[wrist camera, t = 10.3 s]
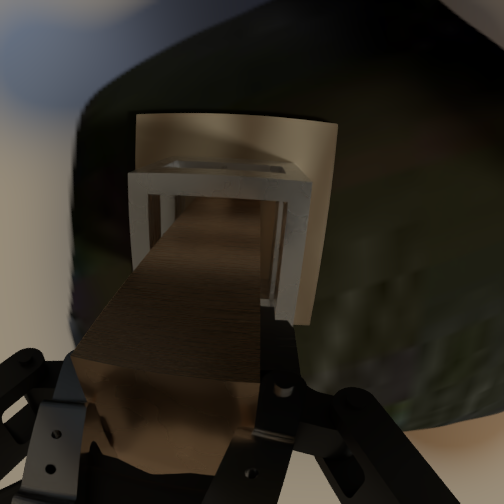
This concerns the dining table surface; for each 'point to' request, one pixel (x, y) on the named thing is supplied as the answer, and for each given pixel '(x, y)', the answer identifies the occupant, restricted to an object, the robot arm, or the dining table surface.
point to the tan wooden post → (181, 343)
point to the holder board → (259, 148)
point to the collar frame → (227, 186)
